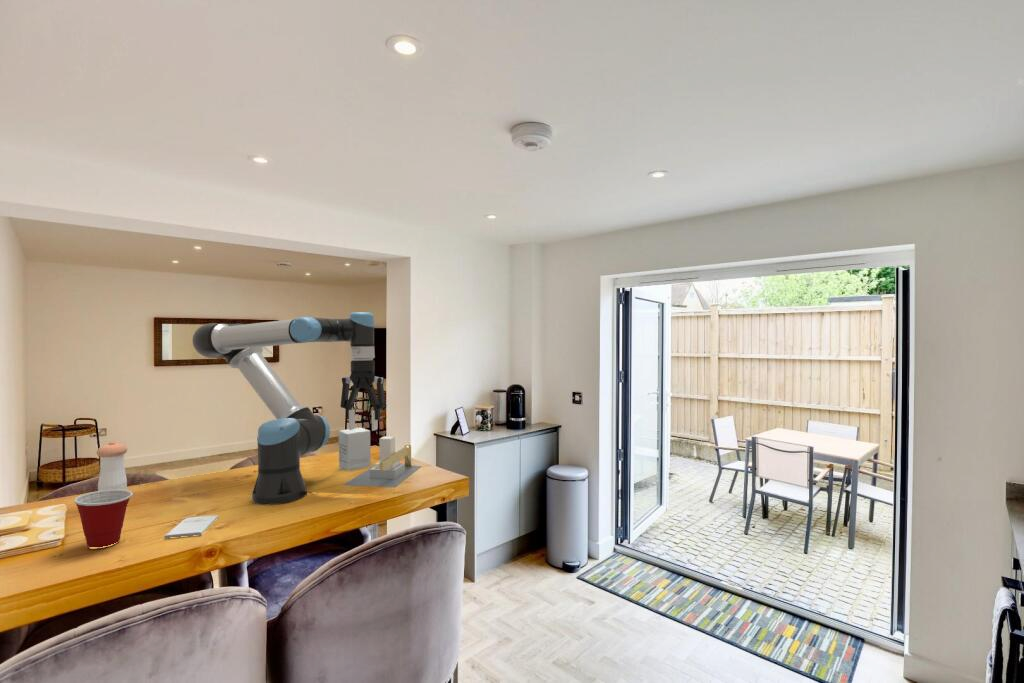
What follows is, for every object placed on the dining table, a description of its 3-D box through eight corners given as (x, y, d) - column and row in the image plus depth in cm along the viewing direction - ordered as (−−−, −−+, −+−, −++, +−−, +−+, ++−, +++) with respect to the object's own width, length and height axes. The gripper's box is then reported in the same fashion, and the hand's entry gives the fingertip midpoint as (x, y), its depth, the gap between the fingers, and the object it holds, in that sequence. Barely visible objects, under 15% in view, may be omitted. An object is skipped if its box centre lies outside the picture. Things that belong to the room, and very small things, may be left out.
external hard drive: (164, 542, 120) (184, 523, 132) (201, 538, 122) (218, 520, 134) (163, 535, 120) (184, 517, 132) (201, 531, 122) (218, 514, 134)
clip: (377, 484, 158) (377, 461, 158) (406, 464, 183) (405, 444, 183) (385, 484, 157) (384, 461, 157) (412, 464, 182) (412, 445, 182)
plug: (375, 477, 167) (374, 439, 167) (382, 472, 174) (382, 435, 174) (392, 478, 166) (392, 439, 166) (399, 472, 173) (399, 435, 173)
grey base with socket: (342, 489, 159) (342, 476, 159) (376, 468, 184) (375, 456, 184) (395, 492, 156) (395, 477, 156) (422, 470, 182) (422, 458, 182)
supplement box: (361, 465, 189) (361, 427, 189) (371, 470, 182) (371, 430, 182) (338, 470, 183) (337, 429, 183) (347, 475, 176) (346, 433, 176)
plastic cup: (112, 553, 112) (111, 501, 112) (61, 555, 111) (61, 503, 111) (144, 534, 123) (143, 487, 123) (98, 536, 122) (97, 488, 122)
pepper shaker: (116, 510, 141) (116, 443, 141) (90, 511, 141) (89, 444, 141) (134, 501, 148) (133, 438, 148) (109, 502, 148) (108, 439, 148)
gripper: (327, 360, 158) (328, 431, 158) (387, 360, 155) (388, 432, 155) (339, 359, 166) (340, 427, 166) (396, 359, 163) (397, 428, 163)
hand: (363, 429), depth 161 cm, fingers open, 7 cm apart
